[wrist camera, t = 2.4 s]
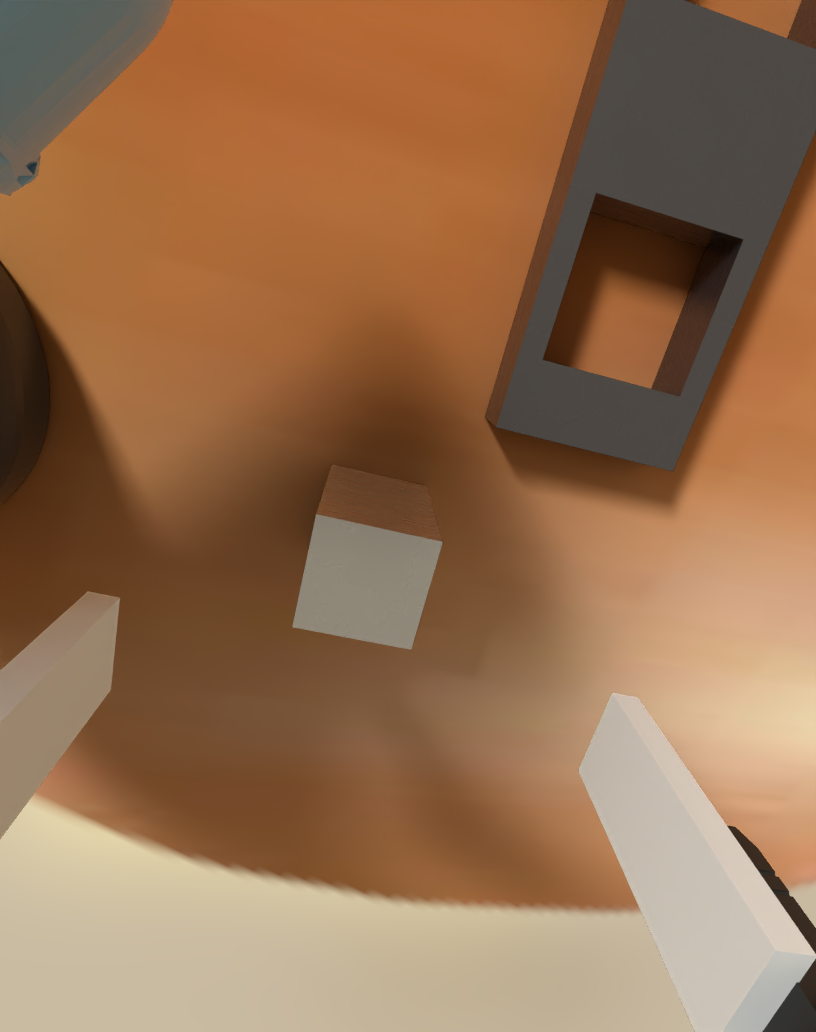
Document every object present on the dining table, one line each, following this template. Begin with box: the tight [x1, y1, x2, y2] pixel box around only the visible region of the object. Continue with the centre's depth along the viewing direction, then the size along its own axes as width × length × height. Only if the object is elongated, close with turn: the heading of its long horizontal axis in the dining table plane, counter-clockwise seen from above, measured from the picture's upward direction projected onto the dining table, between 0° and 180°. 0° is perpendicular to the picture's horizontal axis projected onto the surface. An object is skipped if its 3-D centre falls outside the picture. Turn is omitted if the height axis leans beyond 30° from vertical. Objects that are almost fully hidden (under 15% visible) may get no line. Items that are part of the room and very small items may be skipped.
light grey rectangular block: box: [292, 464, 443, 650], centre depth 23 cm, size 4×4×7 cm
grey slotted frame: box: [485, 0, 816, 471], centre depth 20 cm, size 8×24×3 cm, turn 166°
